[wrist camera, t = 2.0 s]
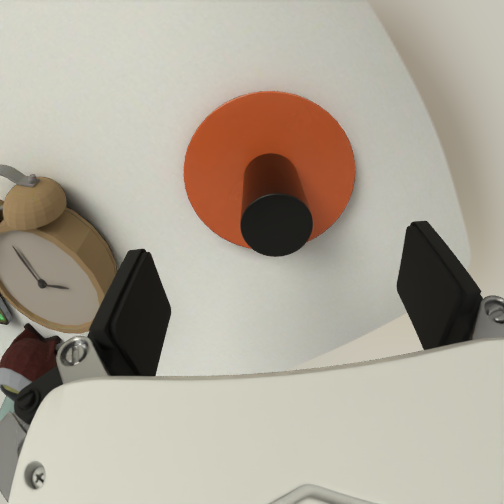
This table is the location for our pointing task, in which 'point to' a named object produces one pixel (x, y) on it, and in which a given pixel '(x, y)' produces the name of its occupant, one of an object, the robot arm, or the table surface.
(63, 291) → the alarm clock
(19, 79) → the table surface
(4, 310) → the smartphone
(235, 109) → the lid
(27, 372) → the mate gourd
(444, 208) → the table surface
